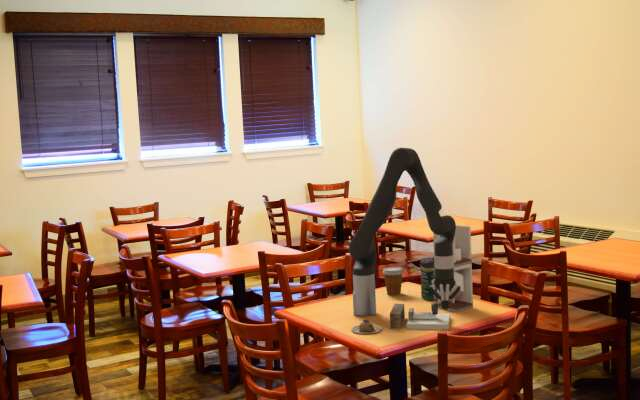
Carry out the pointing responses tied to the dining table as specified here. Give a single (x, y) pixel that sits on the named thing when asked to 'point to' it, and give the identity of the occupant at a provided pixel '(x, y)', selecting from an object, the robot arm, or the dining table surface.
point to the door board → (428, 322)
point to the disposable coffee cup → (393, 280)
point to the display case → (460, 270)
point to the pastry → (366, 327)
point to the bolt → (427, 313)
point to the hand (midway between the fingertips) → (445, 309)
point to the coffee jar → (427, 278)
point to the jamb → (397, 316)
